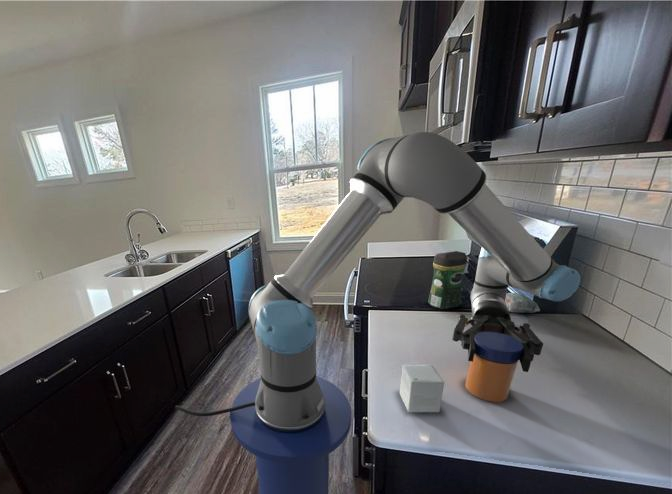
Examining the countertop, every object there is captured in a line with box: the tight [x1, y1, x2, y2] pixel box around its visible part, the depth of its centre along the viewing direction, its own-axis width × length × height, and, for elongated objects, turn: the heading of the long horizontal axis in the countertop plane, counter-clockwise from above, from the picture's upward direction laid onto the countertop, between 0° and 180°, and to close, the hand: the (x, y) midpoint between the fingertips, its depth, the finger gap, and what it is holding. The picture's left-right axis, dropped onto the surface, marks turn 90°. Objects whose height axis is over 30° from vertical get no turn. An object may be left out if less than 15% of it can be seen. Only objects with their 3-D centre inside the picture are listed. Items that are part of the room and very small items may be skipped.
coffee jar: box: [427, 250, 468, 310], centre depth 105 cm, size 10×8×19 cm
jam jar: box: [464, 353, 519, 403], centre depth 65 cm, size 8×8×11 cm
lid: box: [474, 332, 523, 363], centre depth 63 cm, size 8×8×2 cm
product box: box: [399, 363, 445, 413], centre depth 63 cm, size 6×6×7 cm
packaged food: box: [505, 292, 541, 314], centre depth 102 cm, size 9×12×5 cm
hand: (498, 360), depth 60 cm, fingers closed on lid, 8 cm apart
